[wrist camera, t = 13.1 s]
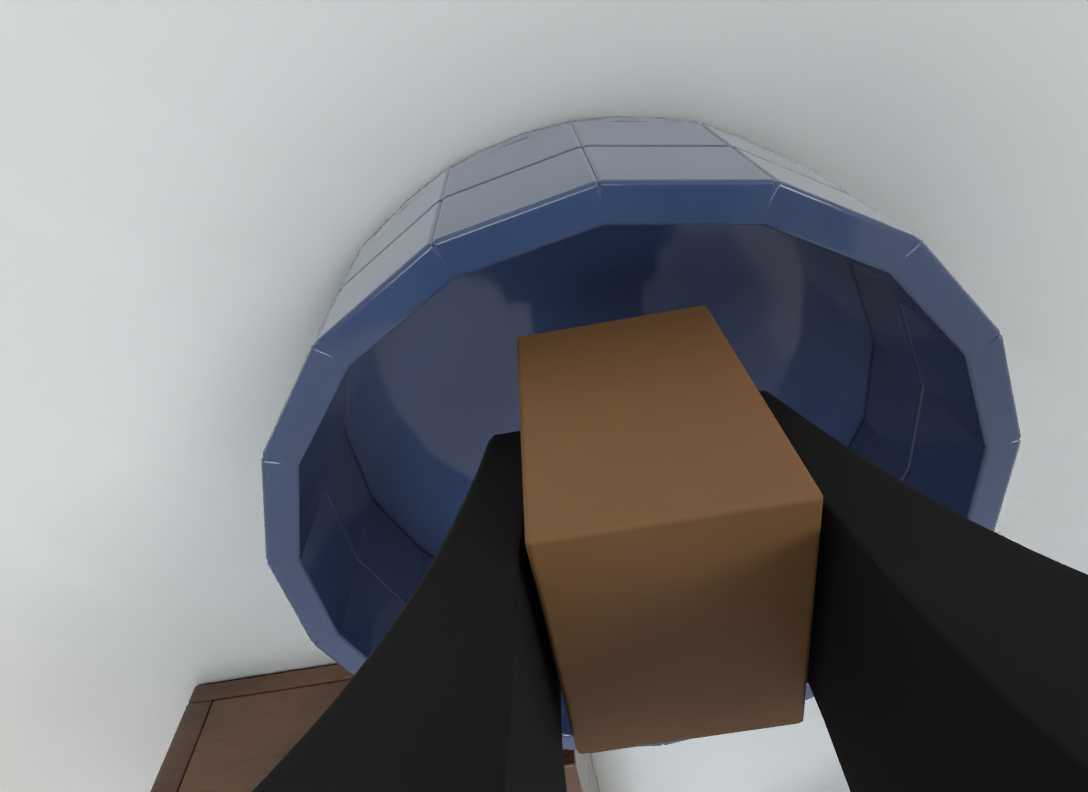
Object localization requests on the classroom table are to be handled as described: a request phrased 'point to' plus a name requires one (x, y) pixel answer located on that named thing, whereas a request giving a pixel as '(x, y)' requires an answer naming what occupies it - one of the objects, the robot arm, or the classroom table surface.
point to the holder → (270, 732)
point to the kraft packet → (664, 532)
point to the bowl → (600, 296)
